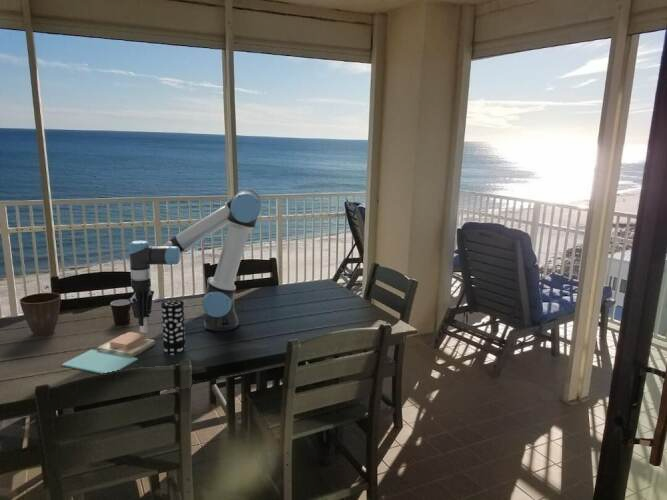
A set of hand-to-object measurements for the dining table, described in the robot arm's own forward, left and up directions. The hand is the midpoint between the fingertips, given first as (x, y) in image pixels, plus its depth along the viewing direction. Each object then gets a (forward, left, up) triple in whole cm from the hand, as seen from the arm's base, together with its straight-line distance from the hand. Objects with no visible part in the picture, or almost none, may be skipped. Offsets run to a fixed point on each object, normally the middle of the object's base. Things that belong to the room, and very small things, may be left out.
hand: (143, 331), depth 203 cm
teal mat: (0, +25, -3) cm, 25 cm away
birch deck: (0, +11, -3) cm, 11 cm away
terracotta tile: (0, +10, -1) cm, 10 cm away
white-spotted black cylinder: (-19, +6, -3) cm, 20 cm away
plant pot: (+43, +11, -3) cm, 44 cm away
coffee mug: (+21, -12, -3) cm, 24 cm away
